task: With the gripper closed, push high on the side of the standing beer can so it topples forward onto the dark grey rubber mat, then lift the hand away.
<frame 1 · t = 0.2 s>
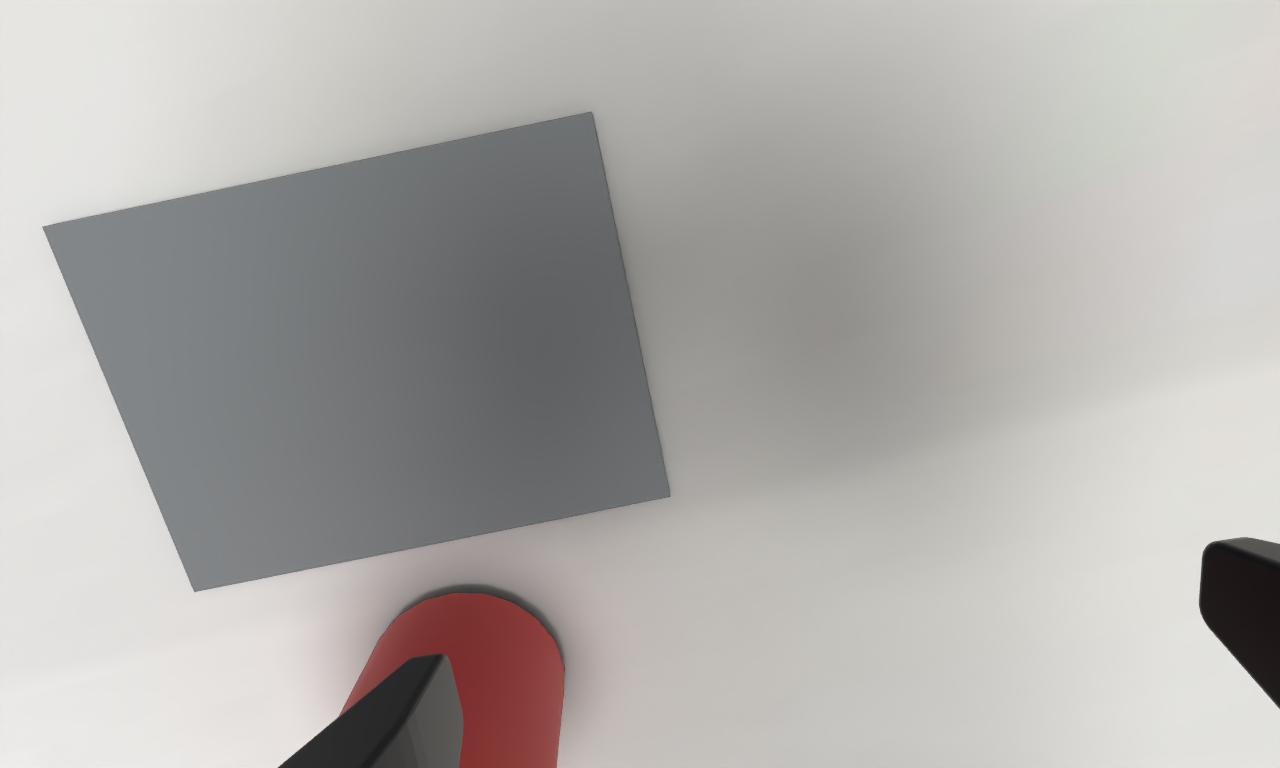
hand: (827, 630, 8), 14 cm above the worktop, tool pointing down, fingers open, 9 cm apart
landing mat: (380, 368, 22), on the worktop
beer can: (473, 662, 25), on the worktop
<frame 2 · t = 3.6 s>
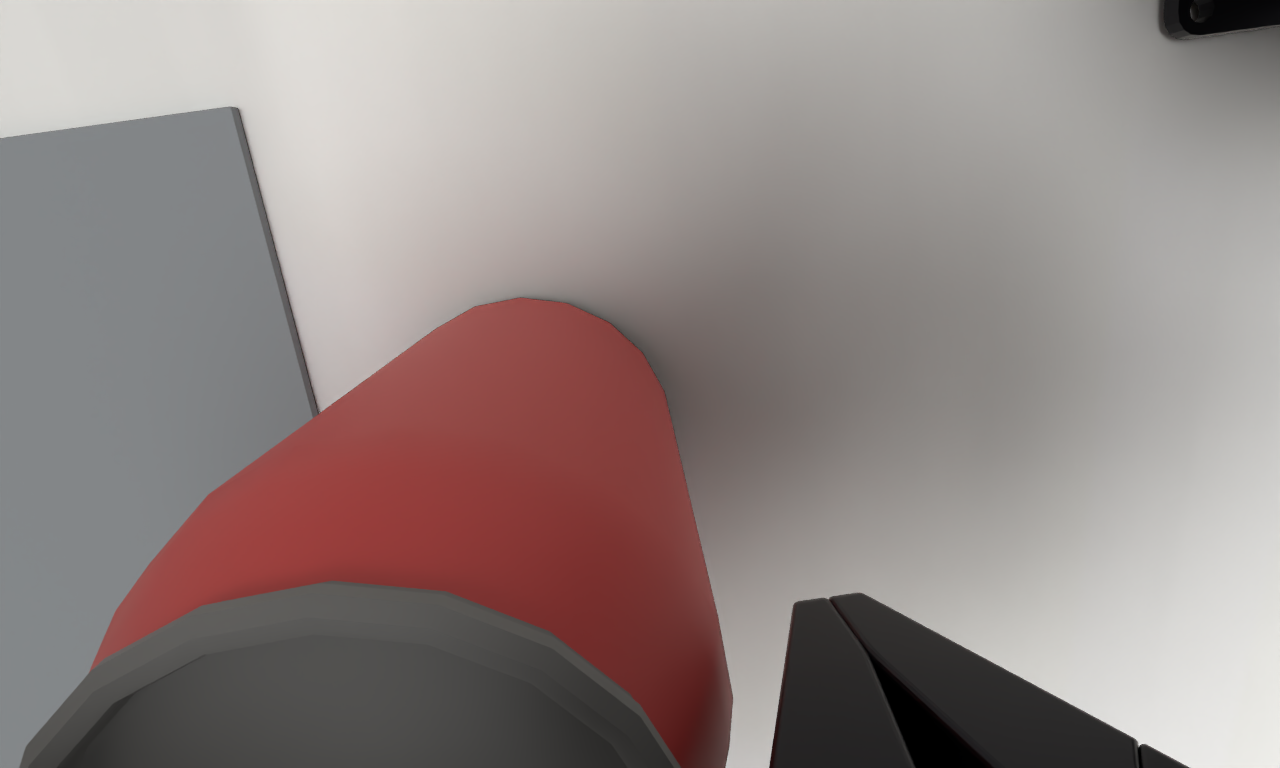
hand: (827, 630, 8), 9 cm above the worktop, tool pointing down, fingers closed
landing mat: (84, 491, 17), on the worktop
beer can: (535, 427, 17), on the worktop, touching gripper
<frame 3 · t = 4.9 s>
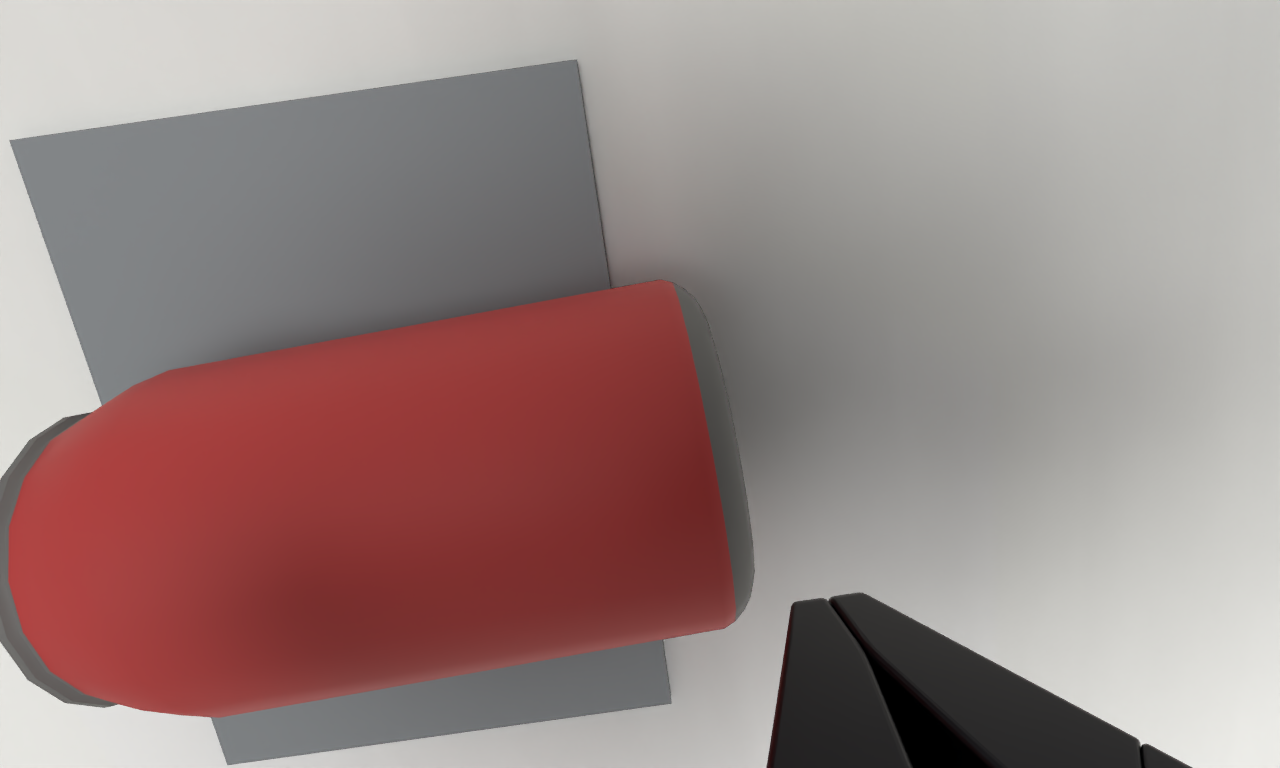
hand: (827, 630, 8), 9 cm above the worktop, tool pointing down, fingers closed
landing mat: (384, 451, 17), on the worktop
beer can: (733, 441, 14), point 4 cm above the worktop, touching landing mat
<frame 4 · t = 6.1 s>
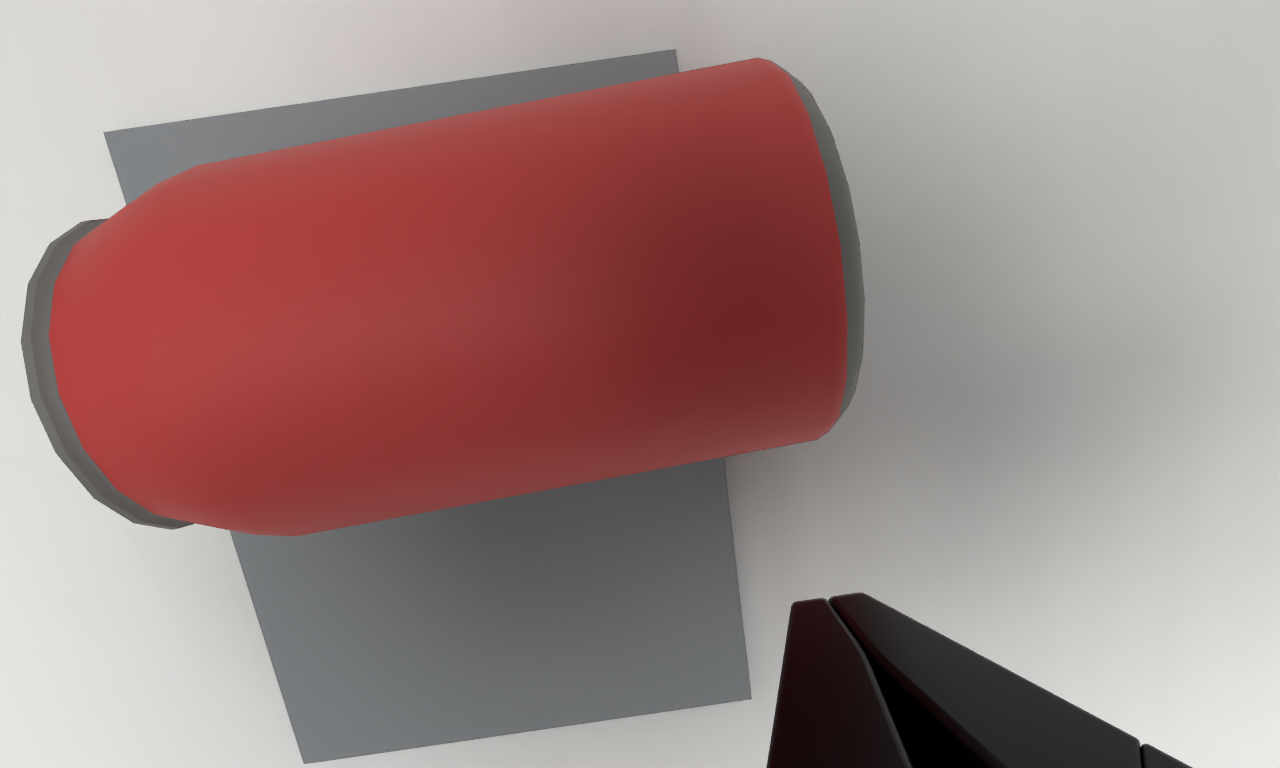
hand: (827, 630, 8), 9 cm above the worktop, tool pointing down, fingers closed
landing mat: (469, 445, 17), on the worktop
beer can: (822, 249, 13), point 4 cm above the worktop, touching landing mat
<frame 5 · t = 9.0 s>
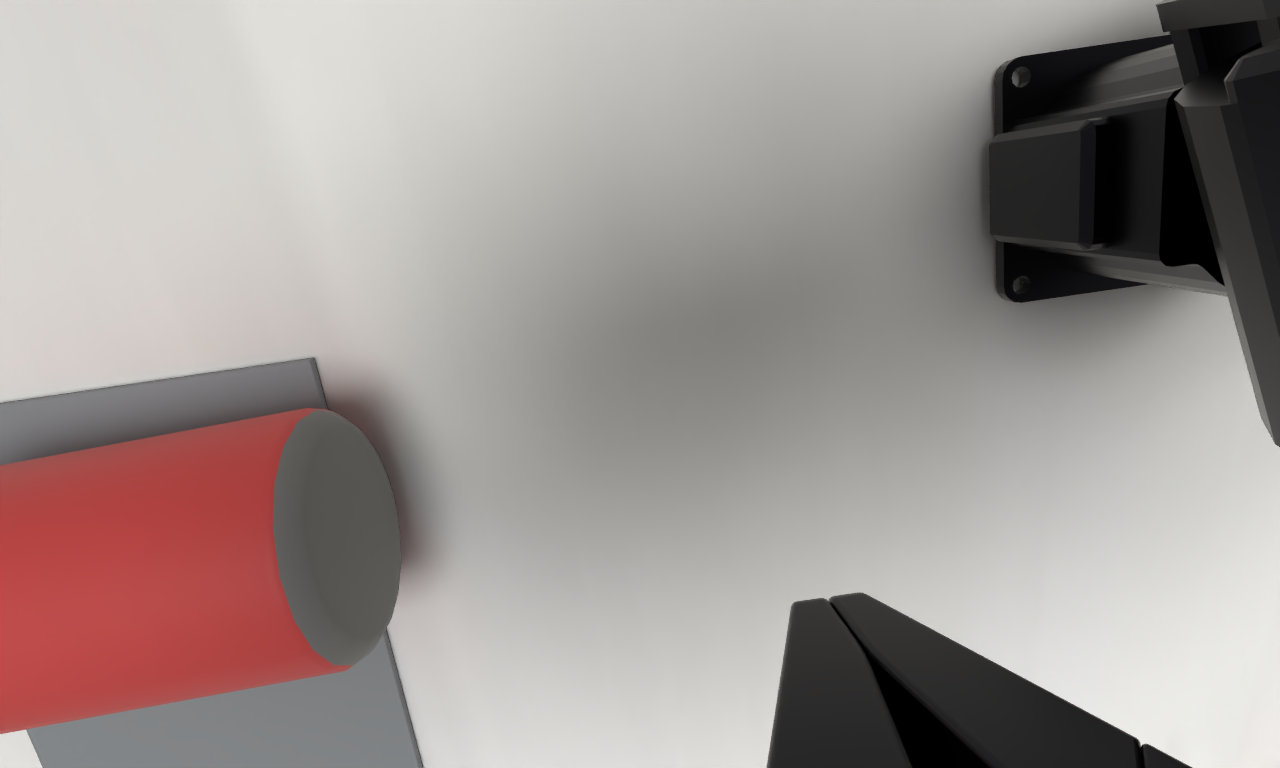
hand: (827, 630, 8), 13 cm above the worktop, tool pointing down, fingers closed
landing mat: (191, 628, 22), on the worktop
beer can: (367, 528, 18), point 4 cm above the worktop, touching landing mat
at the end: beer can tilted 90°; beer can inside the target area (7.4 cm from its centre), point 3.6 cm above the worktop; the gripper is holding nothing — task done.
